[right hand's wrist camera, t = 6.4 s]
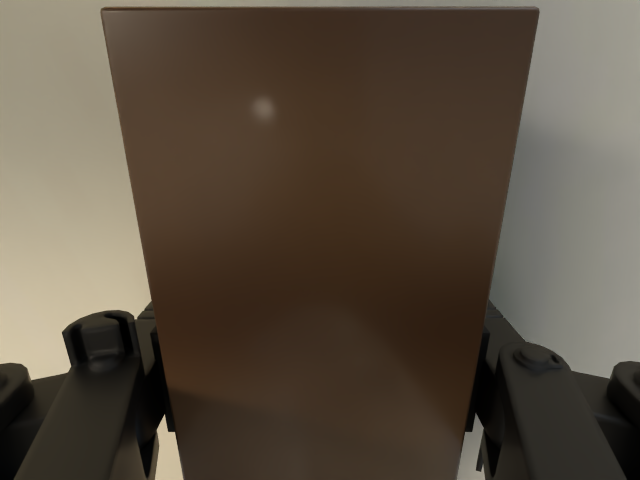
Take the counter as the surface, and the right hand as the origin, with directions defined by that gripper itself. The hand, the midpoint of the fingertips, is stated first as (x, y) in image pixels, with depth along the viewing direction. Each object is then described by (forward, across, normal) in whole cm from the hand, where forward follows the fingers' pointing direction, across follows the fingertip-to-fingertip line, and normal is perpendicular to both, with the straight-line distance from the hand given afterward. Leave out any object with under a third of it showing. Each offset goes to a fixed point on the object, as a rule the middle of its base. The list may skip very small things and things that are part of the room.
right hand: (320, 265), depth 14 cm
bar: (+1, 0, -33) cm, 33 cm away
